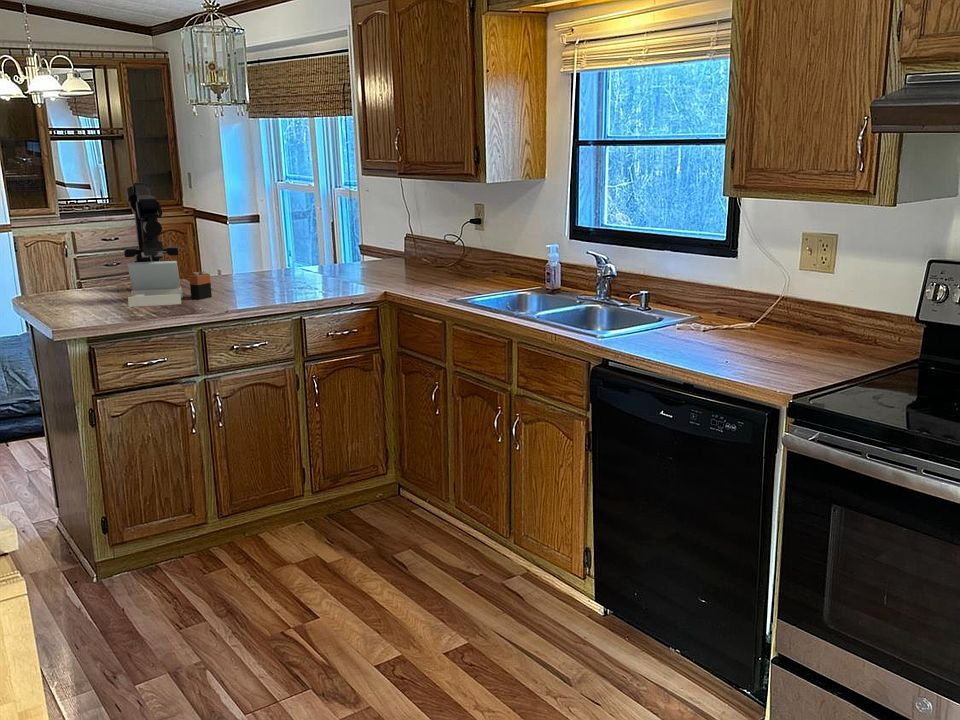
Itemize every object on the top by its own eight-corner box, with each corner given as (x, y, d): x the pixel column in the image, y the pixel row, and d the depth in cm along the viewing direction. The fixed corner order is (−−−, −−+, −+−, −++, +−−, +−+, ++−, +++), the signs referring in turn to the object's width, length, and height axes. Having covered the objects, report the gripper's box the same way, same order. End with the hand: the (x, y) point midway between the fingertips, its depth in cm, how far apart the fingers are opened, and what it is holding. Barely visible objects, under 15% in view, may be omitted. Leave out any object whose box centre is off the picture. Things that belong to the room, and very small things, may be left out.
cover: (132, 290, 324) (132, 288, 325) (180, 288, 329) (180, 286, 330) (127, 264, 313) (127, 262, 313) (176, 262, 317) (176, 260, 318)
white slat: (132, 299, 325) (131, 290, 324) (182, 297, 330) (181, 288, 329) (128, 306, 312) (127, 297, 311) (181, 304, 317) (180, 294, 316)
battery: (190, 299, 327) (188, 272, 324) (204, 296, 332) (202, 270, 330) (198, 300, 324) (196, 273, 322) (212, 297, 330) (210, 271, 328)
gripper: (120, 236, 307) (125, 279, 312) (176, 235, 312) (179, 277, 317) (123, 232, 317) (128, 273, 322) (177, 230, 323) (180, 271, 327)
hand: (154, 274), depth 322 cm, fingers closed, pressing on cover
